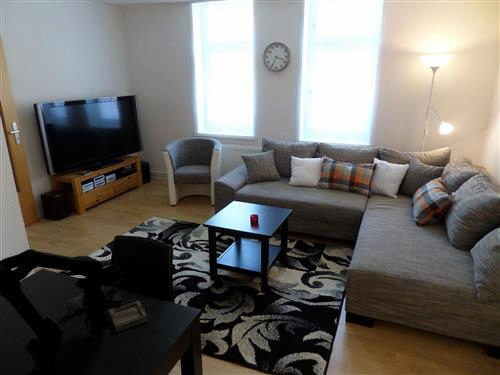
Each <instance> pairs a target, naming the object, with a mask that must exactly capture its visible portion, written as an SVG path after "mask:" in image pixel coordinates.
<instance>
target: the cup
mask: <svg viewBox="0 0 500 375" xmlns="http://www.w3.org/2000/svg"><path fill="white" fill-rule="evenodd" d="M102 313H103V315H108V316H110V314H109V312H106V313H105V311H104V312H103V311H102ZM99 316H100V315H99ZM93 318H96V317H95V315H94V316H93V317H91V315H89V316H85V319H84V322H83V323H84V324H85V327H86V331H87V334H88V335H89V336H91V337H92V338H93V339H94V340H95V341H100V340H101V339H98V338H97V337H96V336H95V335H94V334H90V331H89V326H88V322H89V321H90V319H93ZM107 331H108V329H106V330H104V332H103V337H102V339H103V338H105V335H106V333H107Z"/></svg>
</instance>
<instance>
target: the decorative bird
mask: <svg viewBox="0 0 500 375" xmlns="http://www.w3.org/2000/svg"><path fill="white" fill-rule="evenodd" d="M102 291H103V294H105V288H104V286H103V285H102ZM82 298H83V292H81V293H80V294H79V295H77V296H75V297H74V298H72V299H71V300H69V302H68V304H67V314H68V316H70V317H71V316H72V315H73V314H74V313H75V312H76V311H78V310H79V309H84V307H83V304H82Z"/></svg>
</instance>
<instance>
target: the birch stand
mask: <svg viewBox="0 0 500 375" xmlns="http://www.w3.org/2000/svg"><path fill="white" fill-rule="evenodd" d="M108 313H109V316H110V320H111V323H112V324H113V327H114V329H115V331H116V332H118V333H119V332H122V331H123V330H126V329H128V328H129V329H130V328H132V327H134V326H138V325H140V324H141V325H142V324H143V323H146V322H148V321H149V320H148V315H147V313H146V310H145V309H144V307H143V305H142V304H141V302H140V300H137V301H134V302H133V301H132V302H131V303H127V304H123V305H121V306H120V308H119V309H116V308H110V309H109V312H108ZM116 332H115V333H116Z"/></svg>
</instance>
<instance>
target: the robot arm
mask: <svg viewBox="0 0 500 375" xmlns="http://www.w3.org/2000/svg"><path fill="white" fill-rule="evenodd" d="M36 268H44V269H45V268H46V269H51V270H59V271H66V272H71V273H72V272H73V273H75V274H77V275H79V276H82V277H84V278H81V277H79V279H78V280H77V281H76V282H75V283H74V286H75V287H77V288H78V289H80V290H82V293H83V298H82V304H83V307H84V308H83V310H84V313H85V315H86V317H88V316H89V315H91V317H93V316H94V315H95V317H96V318H93V319H90V321H89V322H88V326H89V331H90V334H94V335H95V336H96V337H97V338H98V339H100V340H102V339H103V338H104V337H103V332H104V330H106V329H107V330H108V329H110V328H111V327H112V320H111V317H109V316H110V315H109V314H108V315H109V316H108V315H103V313H102V312H104V313H105V312H107V311H108V309H114V308H116V309H119V308H120V306H122V303H123V297H122V295H121V294H120V293H119V292H117V291H116V288H114V287H111V286H112V285H114V284H116V283H118V282H120V281H122V280H123V279H124V278H125V273H124V271H123V269H122V267H121V266H120V263H119V262H116V261H114V262H112V263H110V264H109V265H107V266H105V267H104V266H103V263H102V261H100V260H97V259H96V258H94V257H92V256H89V255H77V256H68V255H67V256H66V255H61V254H55V253H50V252H44V251H41V250H40V251H38V250H36V249H33V248H32V249H31V248H30V249H26V250H24V251H22V252H20V253H17V254H14V255H11V256H8V257H5V258H3V259H0V296H1V297H3V299H4V300H5V301H6V303H7V304H8V305H9V306H10V308H12V309H13V311H14V312H15V314H17V316H18V317H19V319H20V320H22V322H23V323H24V324H25V325H26V327H27V328H28V332H29V333H28V334H29V336H30V338H31V339H30V340H29V342H28V343H27V345H26V346H25V348H24V351H25V352H26V353H27V354H28V355H30V356H31V359H32V360H31V361H32V365H33V375H59V374H60V365H59V364H60V363H59V359H58V358H57V357H59V354H60V351H61V345H62V343H63V340H64V336H63V334H64V331H62V330H61V329H60V326H59V325H58V323H57V322H55V321H53V320H52V319H51V318H49V317H48V316H46V317H45V318H43V317H42V316H41V314H40V313H39V311H38V310H37V309H36V308H35V306H34V305H33V304H32V302H31V301H30V299H29V298H28V297H27V296H26V294H25V293H24V292H23V290H22V286H21V285H22V284H21V281H22V280H24V279H25V278H27V276H28V275H30V274H31V272H32V271H33V270H34V269H36ZM102 285H103V287H106V288H109V287H110V288H109V289H108V290H107V291H106V293H104V294H103V291H102ZM99 315H100V316H99ZM102 337H103V338H102Z"/></svg>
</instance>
